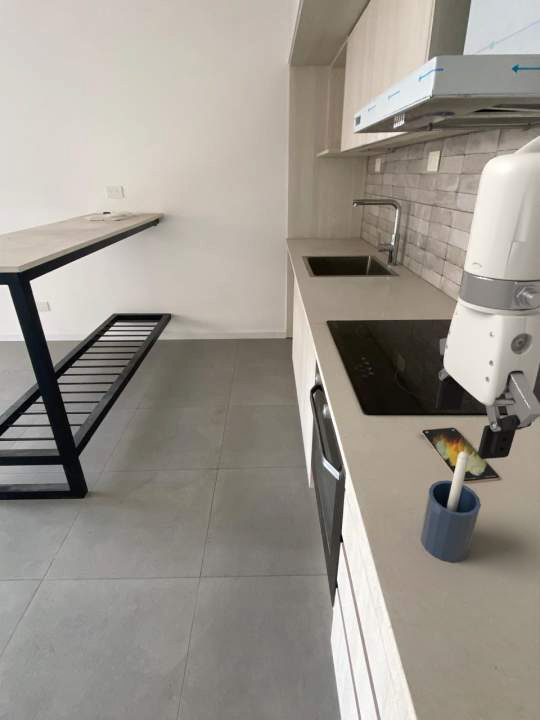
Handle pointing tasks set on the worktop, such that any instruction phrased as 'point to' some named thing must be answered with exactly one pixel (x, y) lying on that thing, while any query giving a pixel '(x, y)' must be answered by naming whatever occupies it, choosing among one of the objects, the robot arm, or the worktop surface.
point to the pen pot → (449, 522)
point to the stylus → (457, 481)
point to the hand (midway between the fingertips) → (468, 430)
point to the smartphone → (451, 445)
